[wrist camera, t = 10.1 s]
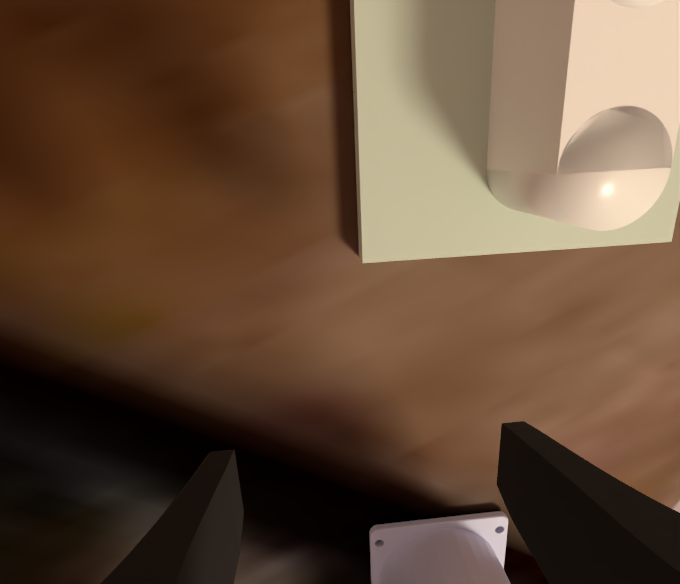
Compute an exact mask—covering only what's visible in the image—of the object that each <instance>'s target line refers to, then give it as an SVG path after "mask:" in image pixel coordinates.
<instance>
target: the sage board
mask: <svg viewBox="0 0 680 584" xmlns="http://www.w3.org/2000/svg"><path fill="white" fill-rule="evenodd" d="M495 2H496V0H350V19H351V47H352V75H353V103H354V131H355V159H356V187H357V215H358V243H359V258H360V259H361V261H362V263H371V262H386V261H400V260H415V259H429V258H444V257H458V256H472V255H487V254H501V253H516V252H530V251H545V250H559V249H574V248H588V247H603V246H617V245H631V244H646V243H660V242H671V241H672V236H673V231H674V226H675V221H676V216H677V211H678V206H679V201H680V123H679V129H678V134H677V139H676V145H675V150H674V156H673V161H672V166H671V171H670V175H669V178H668V181H667V183H666V185H665V188H664V190H663V192H662V193H661V195H660V196H659V198H658V199H657V201H656V202H655V203H654V205H653V206H652V207H651V208H650V209H649V210H648V211H647V212H646V213H645V214H643V215H642V216H641V217H640V218H638V219H637V220H635V221H634V222H632V223H630V224H628V225H626V226H624V227H621V228H618V229H614V230H608V231H597V230H591V229H587V228H583V227H579V226H575V225H571V224H567V223H563V222H559V221H556V220H552V219H548V218H544V217H540V216H536V215H532V214H528V213H524V212H520V211H517V210H513V209H510V208H508V207H505V206H504V205H502V204H501V203H500V202H499V201H497V199H496V198H495V197H494V196H493V194H492V192H491V190H490V188H489V185H488V182H487V151H488V132H489V113H490V95H491V76H492V58H493V39H494V20H495Z"/></svg>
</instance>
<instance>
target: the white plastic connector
mask: <svg viewBox="0 0 680 584" xmlns="http://www.w3.org/2000/svg"><path fill="white" fill-rule="evenodd" d="M679 123H680V0H496V2H495V20H494V39H493V58H492V76H491V95H490V113H489V132H488V151H487V182H488V185H489V188H490V190H491V192H492V194H493V196H494V197H495V198H496V199H497V201H499V202H500V203H501V204H502V205H504V206H505V207H508V208H510V209H513V210H517V211H520V212H524V213H528V214H532V215H536V216H540V217H544V218H548V219H552V220H556V221H559V222H563V223H567V224H571V225H575V226H579V227H583V228H587V229H591V230H597V231H608V230H614V229H618V228H621V227H624V226H626V225H628V224H630V223H632V222H634V221H635V220H637V219H638V218H640V217H641V216H642V215H643V214H645V213H646V212H647V211H648V210H649V209H650V208H651V207H652V206H653V205H654V203H655V202H656V201H657V199H658V198H659V196H660V195H661V193H662V192H663V190H664V188H665V185H666V183H667V181H668V178H669V175H670V171H671V166H672V161H673V156H674V150H675V145H676V139H677V134H678V129H679Z"/></svg>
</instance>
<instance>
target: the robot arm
mask: <svg viewBox="0 0 680 584" xmlns="http://www.w3.org/2000/svg"><path fill="white" fill-rule="evenodd" d="M497 486H498V488H499V491H500V493H501V495H502V498H503V500H504V503H505V505H506V507H507V509H508V511H509V514H510V516H511V518H512V520H513V522H514V524H515V526H516V528H517V529H518V531H519V533H520V534H521V536H522V538H523V540H524V541H525V543H526V545H527V546H528V548H529V550H530V552H531V553H532V555H533V557H534V558H535V560H536V562H537V563H538V565H539V567H540V568H541V570H542V572H543V574H544V575H545V577H546V579H547V580H548V582H549V584H680V513H679V512H677V511H675V510H673V509H671V508H669V507H667V506H665V505H663V504H661V503H659V502H657V501H655V500H653V499H651V498H650V497H648V496H646V495H644V494H642V493H641V492H639V491H637V490H635V489H634V488H632V487H630V486H628V485H626V484H625V483H623V482H621V481H619V480H618V479H616V478H614V477H613V476H611V475H609V474H608V473H606V472H604V471H603V470H601V469H599V468H598V467H596V466H594V465H593V464H591V463H589V462H588V461H586V460H585V459H583V458H581V457H580V456H578V455H577V454H575V453H574V452H572V451H570V450H569V449H567V448H566V447H564V446H563V445H561V444H559V443H558V442H556V441H555V440H553V439H552V438H550V437H549V436H547V435H545V434H544V433H542V432H541V431H539V430H537V429H536V428H534V427H532V426H531V425H529V424H527V423H526V422H524V421H522V422H512V423H502V428H501V440H500V452H499V464H498V476H497ZM243 515H244V509H243V503H242V496H241V490H240V483H239V477H238V470H237V464H236V457H235V450H234V449H233V450H223V451H213V452H210V453H209V454H208V455H207V456H206V458H205V459H204V461H203V462H202V463H201V465H200V466H199V467H198V469H197V470H196V472H195V473H194V474H193V476H192V477H191V478H190V480H189V481H188V482H187V484H186V485H185V486H184V488H183V489H182V490H181V492H180V493H179V494H178V496H177V497H176V498H175V499H174V501H173V502H172V503H171V505H170V506H169V507H168V508H167V510H166V511H165V512H164V513H163V515H162V516H161V517H160V518H159V520H158V521H157V522H156V523H155V524H154V526H153V527H152V528H151V529H150V530H149V531H148V533H147V534H146V535H145V536H144V537H143V538H142V539H141V541H140V542H139V543H138V544H137V545H136V546H135V548H134V549H133V550H132V551H131V552H130V553H129V554H128V555H127V556H126V558H125V559H124V560H123V561H122V562H121V563H120V564H119V565H118V566H117V567H116V568H115V569H114V570H113V571H112V572H111V573H110V574H109V575H108V576H107V577H106V578H105V579H104V580H103V581H102V582H101V584H234V579H235V574H236V569H237V564H238V559H239V554H240V546H241V537H242V526H243ZM507 529H508V518H507V516H506V515H505V513H504V512H501V511H496V512H487V513H478V514H469V515H460V516H451V517H442V518H433V519H424V520H415V521H406V522H397V523H388V524H379V525H375V526H373V527H372V528H371V529H370V532H369V537H370V565H371V584H510V582H509V580H508V578H507V575H506V573H505V571H504V560H505V550H506V540H507ZM377 540H380V541H377Z"/></svg>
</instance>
